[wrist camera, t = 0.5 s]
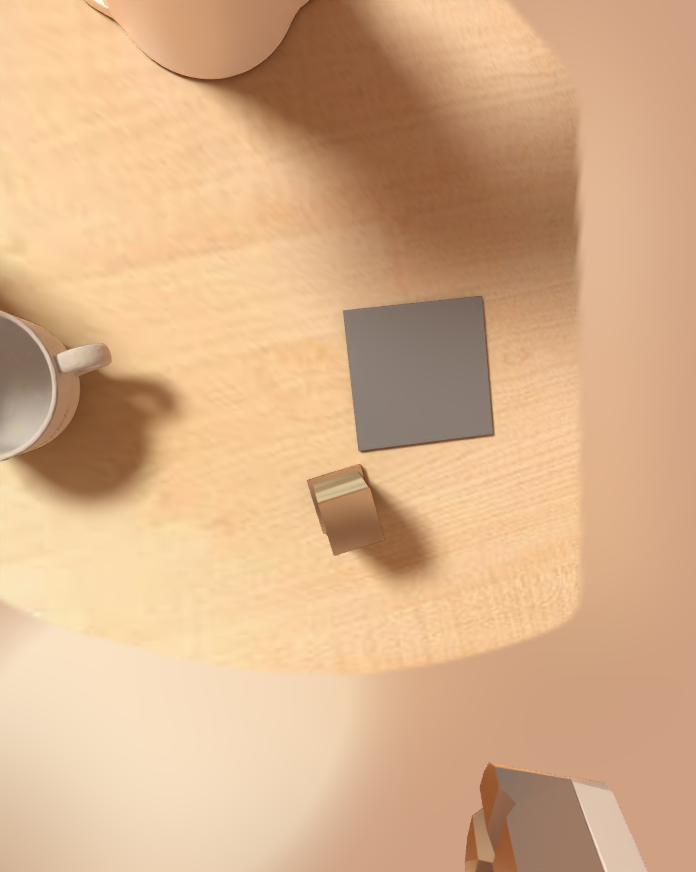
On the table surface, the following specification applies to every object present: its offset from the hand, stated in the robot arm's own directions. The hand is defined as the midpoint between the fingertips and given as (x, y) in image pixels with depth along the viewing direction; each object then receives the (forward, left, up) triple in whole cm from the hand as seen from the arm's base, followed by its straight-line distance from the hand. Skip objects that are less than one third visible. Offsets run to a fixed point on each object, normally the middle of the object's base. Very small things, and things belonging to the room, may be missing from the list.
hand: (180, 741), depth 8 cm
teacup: (-6, -17, -45) cm, 48 cm away
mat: (-3, +14, -44) cm, 46 cm away
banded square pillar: (+7, +6, -44) cm, 45 cm away
